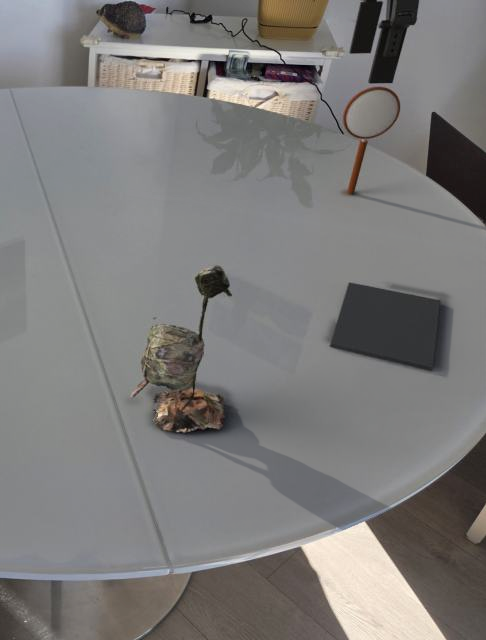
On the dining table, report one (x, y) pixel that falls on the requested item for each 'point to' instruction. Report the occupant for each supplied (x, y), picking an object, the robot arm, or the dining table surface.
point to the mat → (388, 325)
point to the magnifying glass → (369, 121)
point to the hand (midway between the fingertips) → (369, 67)
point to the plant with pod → (183, 367)
